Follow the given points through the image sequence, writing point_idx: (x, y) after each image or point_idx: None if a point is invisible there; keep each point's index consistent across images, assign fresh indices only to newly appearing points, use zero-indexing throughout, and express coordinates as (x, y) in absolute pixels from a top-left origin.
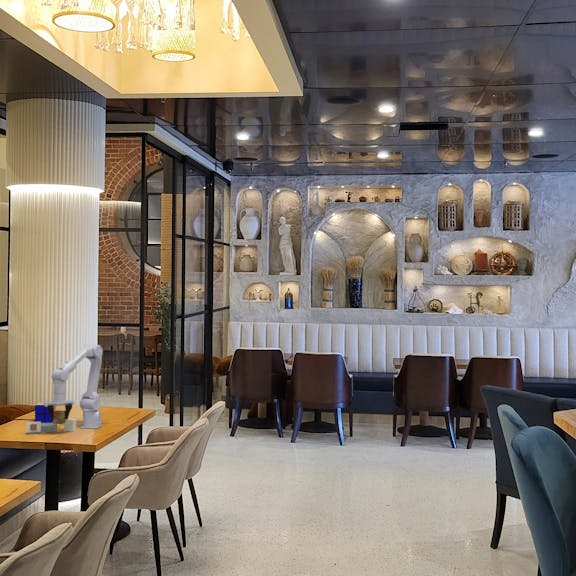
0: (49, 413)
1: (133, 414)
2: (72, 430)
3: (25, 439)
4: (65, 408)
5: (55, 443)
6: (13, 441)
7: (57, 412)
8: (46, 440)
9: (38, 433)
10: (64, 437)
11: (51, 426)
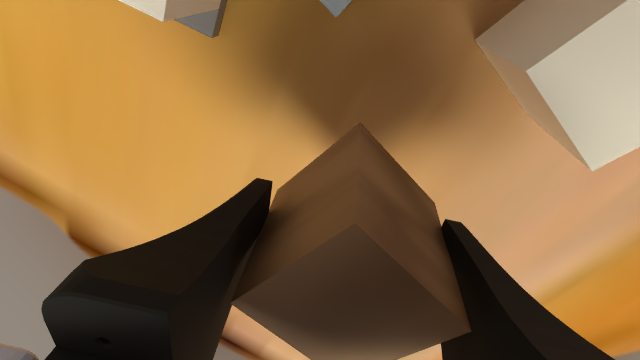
0: (199, 224)
1: None
2: (527, 113)
3: (78, 174)
4: (514, 335)
5: (219, 341)
6: (4, 184)
7: (287, 337)
8: None
9: (196, 28)
10: None
11: (339, 13)
